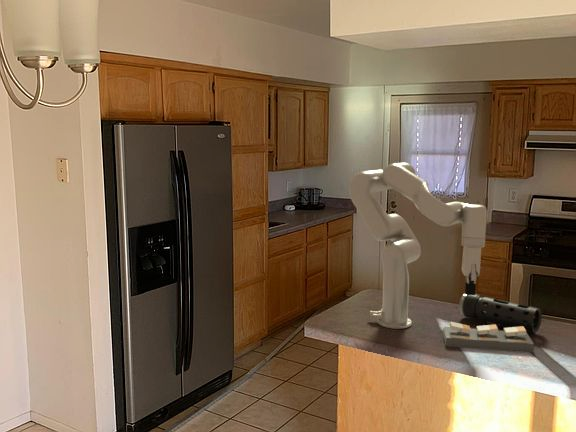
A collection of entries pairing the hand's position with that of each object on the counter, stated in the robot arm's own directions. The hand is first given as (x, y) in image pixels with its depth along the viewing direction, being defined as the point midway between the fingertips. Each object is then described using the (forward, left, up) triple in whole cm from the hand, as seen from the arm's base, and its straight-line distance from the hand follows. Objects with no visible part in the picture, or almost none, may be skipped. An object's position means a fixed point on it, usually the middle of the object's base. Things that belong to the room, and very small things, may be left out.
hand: (470, 294), depth 195 cm
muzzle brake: (+13, +19, -18) cm, 29 cm away
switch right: (+15, 0, -12) cm, 20 cm away
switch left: (-3, 0, -12) cm, 12 cm away
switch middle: (+6, 0, -12) cm, 14 cm away
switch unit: (+6, 0, -17) cm, 18 cm away
